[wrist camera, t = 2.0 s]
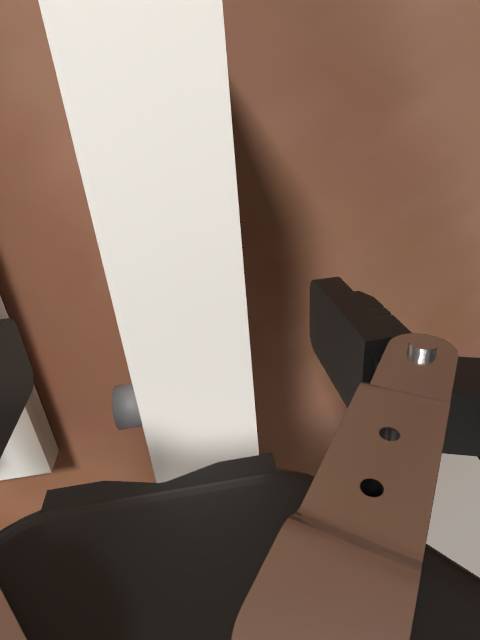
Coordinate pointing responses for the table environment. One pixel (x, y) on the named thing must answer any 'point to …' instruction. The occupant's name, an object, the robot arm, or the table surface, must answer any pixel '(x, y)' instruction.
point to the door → (163, 216)
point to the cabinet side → (29, 439)
